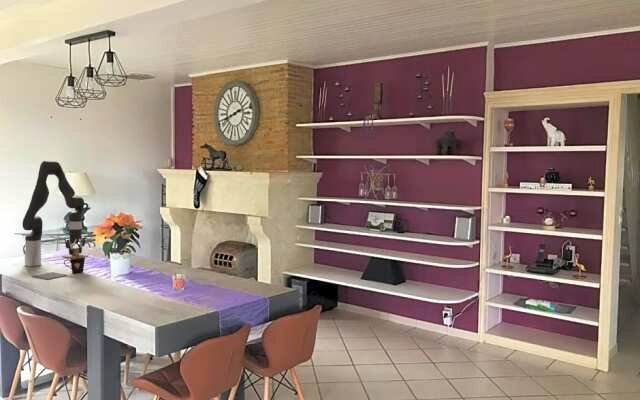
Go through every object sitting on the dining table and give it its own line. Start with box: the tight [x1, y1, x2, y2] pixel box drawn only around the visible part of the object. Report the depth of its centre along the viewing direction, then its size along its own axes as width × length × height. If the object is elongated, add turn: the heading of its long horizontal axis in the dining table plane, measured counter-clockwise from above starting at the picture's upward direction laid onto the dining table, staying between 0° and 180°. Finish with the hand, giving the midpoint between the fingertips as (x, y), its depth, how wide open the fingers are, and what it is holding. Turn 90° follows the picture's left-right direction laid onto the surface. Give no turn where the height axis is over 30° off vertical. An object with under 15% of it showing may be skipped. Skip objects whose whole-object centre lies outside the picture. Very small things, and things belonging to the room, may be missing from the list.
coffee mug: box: [63, 257, 86, 275], centre depth 341 cm, size 12×9×10 cm
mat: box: [31, 271, 68, 281], centre depth 328 cm, size 14×14×1 cm
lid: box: [61, 247, 90, 260], centre depth 341 cm, size 11×11×6 cm
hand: (75, 253), depth 341 cm, fingers open, 6 cm apart
